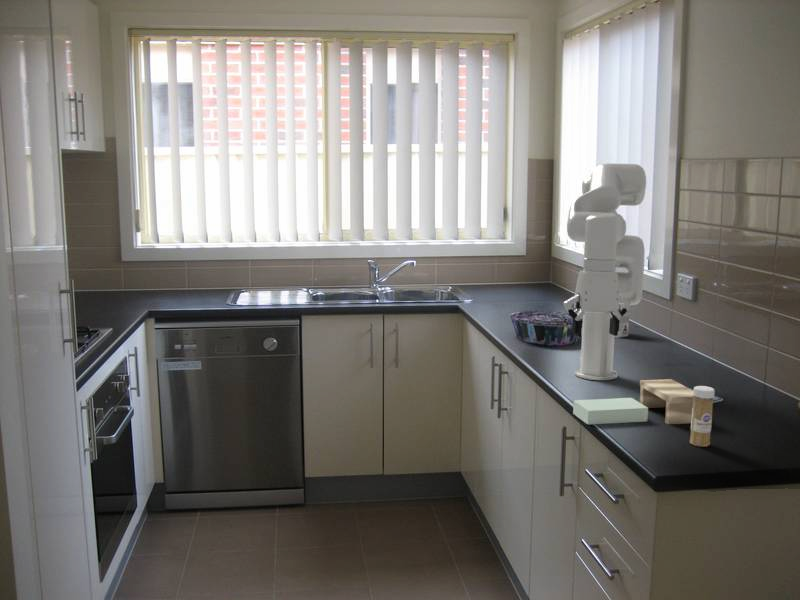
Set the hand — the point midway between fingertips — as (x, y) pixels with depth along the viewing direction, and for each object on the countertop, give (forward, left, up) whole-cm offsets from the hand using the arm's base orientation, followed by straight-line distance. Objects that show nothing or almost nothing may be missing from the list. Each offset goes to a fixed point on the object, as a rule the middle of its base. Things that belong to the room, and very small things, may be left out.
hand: (595, 335), depth 208 cm
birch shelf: (-2, +23, -22) cm, 32 cm away
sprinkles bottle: (+20, +18, -22) cm, 35 cm away
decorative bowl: (-91, +24, -22) cm, 97 cm away
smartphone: (-17, +38, -23) cm, 47 cm away
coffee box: (-95, +52, -22) cm, 110 cm away
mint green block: (-2, +6, -22) cm, 23 cm away
